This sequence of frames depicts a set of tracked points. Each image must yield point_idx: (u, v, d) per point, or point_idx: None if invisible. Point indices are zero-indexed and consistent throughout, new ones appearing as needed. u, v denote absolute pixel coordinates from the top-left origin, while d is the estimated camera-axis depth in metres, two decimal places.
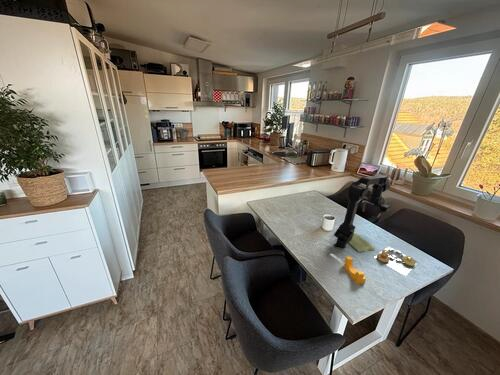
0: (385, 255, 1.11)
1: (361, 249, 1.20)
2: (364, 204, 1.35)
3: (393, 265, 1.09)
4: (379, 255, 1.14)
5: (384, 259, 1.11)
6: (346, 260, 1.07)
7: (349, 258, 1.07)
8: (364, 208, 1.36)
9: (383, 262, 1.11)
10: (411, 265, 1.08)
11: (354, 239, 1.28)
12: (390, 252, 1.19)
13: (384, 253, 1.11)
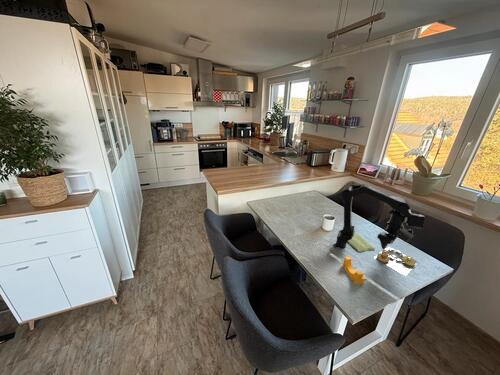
0: (385, 255, 1.11)
1: (361, 249, 1.20)
2: None
3: (393, 265, 1.09)
4: (379, 255, 1.14)
5: (384, 259, 1.11)
6: (345, 260, 1.07)
7: (348, 258, 1.07)
8: (393, 239, 1.11)
9: (383, 262, 1.11)
10: (411, 265, 1.08)
11: (354, 239, 1.28)
12: (390, 252, 1.19)
13: (384, 253, 1.11)
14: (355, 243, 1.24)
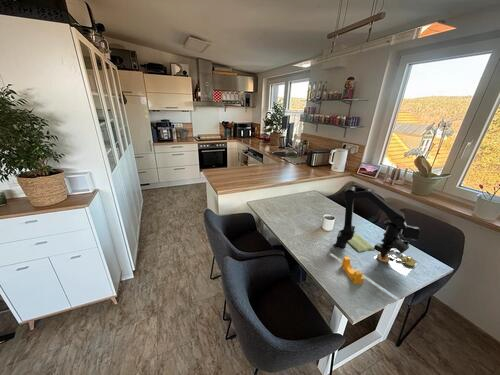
0: (385, 255, 1.11)
1: (361, 249, 1.20)
2: (387, 246, 1.12)
3: (393, 265, 1.09)
4: (379, 255, 1.14)
5: (384, 259, 1.11)
6: (344, 260, 1.07)
7: (347, 258, 1.07)
8: None
9: (383, 262, 1.11)
10: (411, 265, 1.08)
11: (354, 239, 1.28)
12: (390, 252, 1.19)
13: None
14: (355, 243, 1.24)
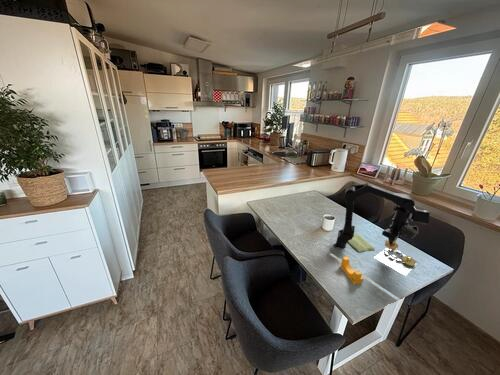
0: (393, 242, 1.08)
1: (361, 249, 1.20)
2: None
3: (393, 265, 1.09)
4: (387, 242, 1.11)
5: (392, 246, 1.08)
6: (343, 260, 1.07)
7: (346, 258, 1.06)
8: None
9: None
10: (411, 265, 1.08)
11: (354, 239, 1.28)
12: (390, 252, 1.19)
13: None
14: (355, 243, 1.24)
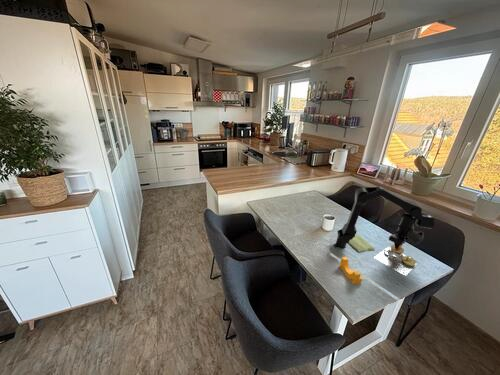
0: (399, 246, 1.12)
1: (361, 249, 1.20)
2: None
3: (393, 265, 1.09)
4: (393, 246, 1.15)
5: (398, 250, 1.13)
6: (342, 260, 1.07)
7: (345, 258, 1.06)
8: None
9: (397, 253, 1.12)
10: (411, 265, 1.08)
11: (354, 239, 1.28)
12: (390, 252, 1.19)
13: None
14: (355, 243, 1.24)
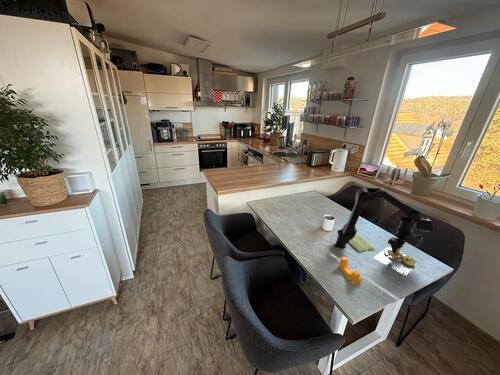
0: (397, 251, 1.14)
1: (361, 249, 1.20)
2: None
3: (393, 265, 1.09)
4: (391, 252, 1.17)
5: (396, 255, 1.14)
6: (341, 260, 1.07)
7: (344, 258, 1.06)
8: None
9: (395, 258, 1.14)
10: (411, 265, 1.08)
11: (354, 239, 1.28)
12: None
13: None
14: (355, 243, 1.24)
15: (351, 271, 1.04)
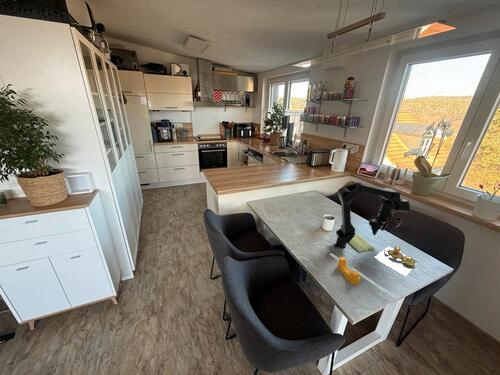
0: (397, 251, 1.14)
1: (361, 249, 1.19)
2: (384, 222, 1.20)
3: (393, 265, 1.09)
4: (391, 252, 1.17)
5: (396, 255, 1.14)
6: (340, 261, 1.07)
7: (343, 258, 1.06)
8: (383, 227, 1.21)
9: (395, 258, 1.14)
10: (411, 265, 1.08)
11: (354, 239, 1.28)
12: None
13: (396, 250, 1.14)
14: (355, 243, 1.24)
15: (350, 271, 1.03)
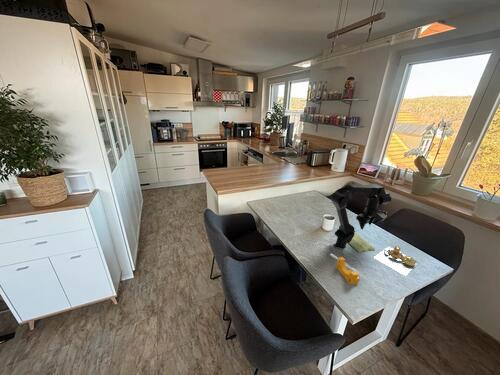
0: (397, 251, 1.14)
1: (361, 249, 1.19)
2: (371, 216, 1.25)
3: (393, 265, 1.09)
4: (391, 252, 1.17)
5: (396, 255, 1.14)
6: (339, 261, 1.07)
7: (341, 259, 1.06)
8: (371, 221, 1.26)
9: (395, 258, 1.14)
10: (411, 265, 1.08)
11: (354, 239, 1.28)
12: None
13: (396, 250, 1.14)
14: (355, 243, 1.24)
15: (349, 271, 1.03)
